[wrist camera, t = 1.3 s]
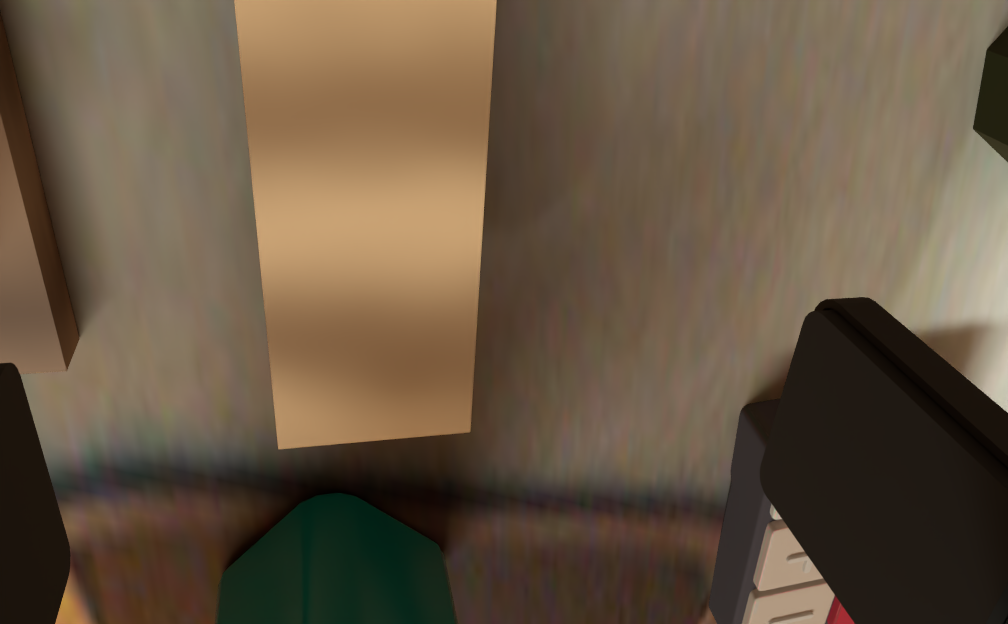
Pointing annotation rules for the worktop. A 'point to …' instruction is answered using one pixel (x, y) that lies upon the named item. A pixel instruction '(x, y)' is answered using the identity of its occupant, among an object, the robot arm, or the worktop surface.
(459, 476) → the worktop surface
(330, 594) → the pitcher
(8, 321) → the peg stand
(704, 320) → the worktop surface
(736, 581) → the calculator
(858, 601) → the robot arm
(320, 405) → the wooden block
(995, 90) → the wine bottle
